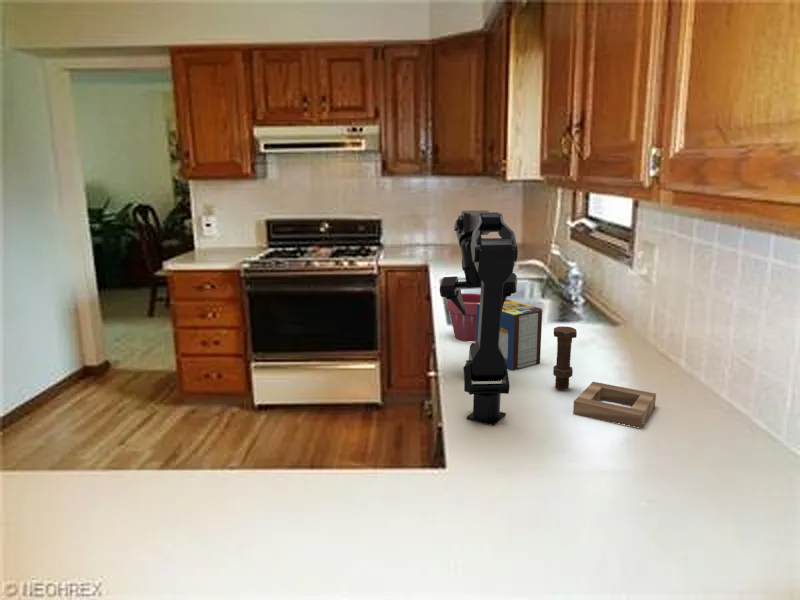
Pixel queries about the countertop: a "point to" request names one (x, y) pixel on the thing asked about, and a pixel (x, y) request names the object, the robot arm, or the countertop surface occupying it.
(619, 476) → the countertop surface
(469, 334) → the plant pot
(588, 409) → the block
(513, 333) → the protein box
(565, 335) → the bolt
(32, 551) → the countertop surface
